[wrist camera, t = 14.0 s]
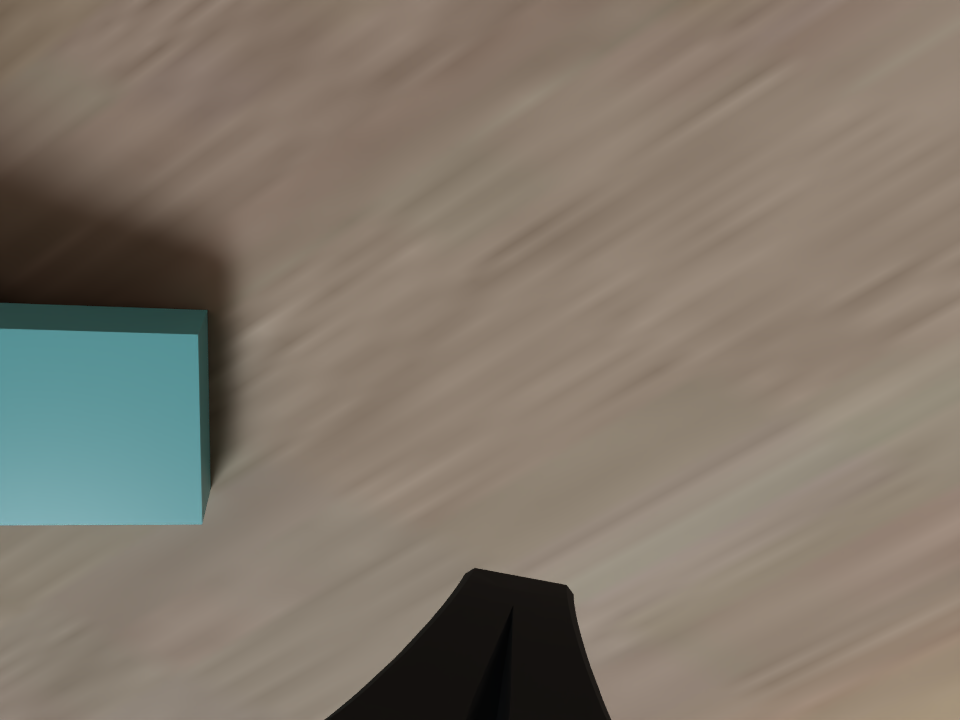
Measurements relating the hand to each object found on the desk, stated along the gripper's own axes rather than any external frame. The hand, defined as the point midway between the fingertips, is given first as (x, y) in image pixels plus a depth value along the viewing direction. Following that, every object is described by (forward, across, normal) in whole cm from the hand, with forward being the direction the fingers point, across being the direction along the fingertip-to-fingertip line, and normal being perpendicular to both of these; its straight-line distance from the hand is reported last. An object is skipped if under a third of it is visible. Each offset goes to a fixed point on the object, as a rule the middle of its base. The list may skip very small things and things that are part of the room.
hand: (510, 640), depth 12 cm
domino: (+10, +9, +2) cm, 13 cm away
